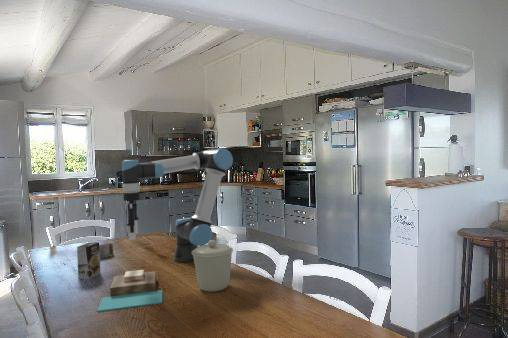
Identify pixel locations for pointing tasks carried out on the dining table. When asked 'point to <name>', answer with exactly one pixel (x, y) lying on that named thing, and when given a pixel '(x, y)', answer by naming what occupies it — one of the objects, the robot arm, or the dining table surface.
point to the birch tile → (134, 275)
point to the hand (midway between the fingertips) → (133, 236)
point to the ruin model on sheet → (106, 250)
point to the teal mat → (130, 300)
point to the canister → (213, 266)
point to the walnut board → (133, 285)
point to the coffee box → (88, 260)
